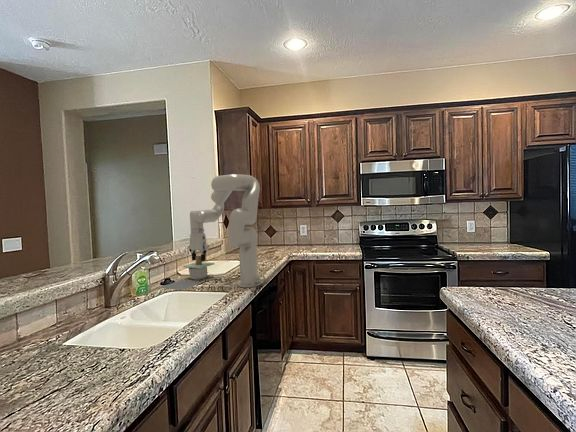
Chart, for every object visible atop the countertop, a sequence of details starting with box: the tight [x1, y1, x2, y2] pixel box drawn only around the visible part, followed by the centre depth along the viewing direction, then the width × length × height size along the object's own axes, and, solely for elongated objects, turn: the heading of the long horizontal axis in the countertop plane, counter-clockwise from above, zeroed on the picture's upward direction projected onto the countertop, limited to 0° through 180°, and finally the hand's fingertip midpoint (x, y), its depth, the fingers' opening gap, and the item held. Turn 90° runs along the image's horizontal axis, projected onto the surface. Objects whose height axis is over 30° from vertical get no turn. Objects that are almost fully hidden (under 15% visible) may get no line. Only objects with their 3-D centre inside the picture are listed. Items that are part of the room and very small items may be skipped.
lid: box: [182, 255, 215, 269], centre depth 201 cm, size 13×13×6 cm
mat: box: [157, 279, 204, 291], centre depth 186 cm, size 17×17×1 cm
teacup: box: [188, 266, 208, 281], centre depth 201 cm, size 14×11×8 cm
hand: (198, 260), depth 201 cm, fingers open, 6 cm apart
